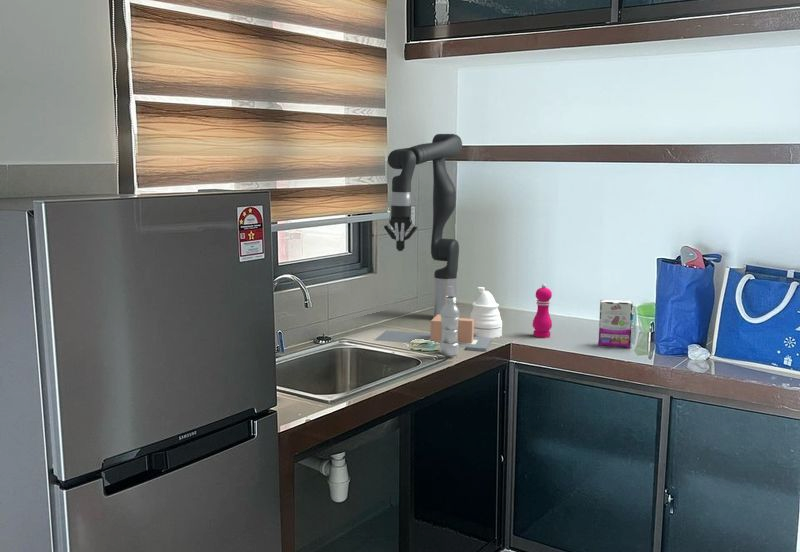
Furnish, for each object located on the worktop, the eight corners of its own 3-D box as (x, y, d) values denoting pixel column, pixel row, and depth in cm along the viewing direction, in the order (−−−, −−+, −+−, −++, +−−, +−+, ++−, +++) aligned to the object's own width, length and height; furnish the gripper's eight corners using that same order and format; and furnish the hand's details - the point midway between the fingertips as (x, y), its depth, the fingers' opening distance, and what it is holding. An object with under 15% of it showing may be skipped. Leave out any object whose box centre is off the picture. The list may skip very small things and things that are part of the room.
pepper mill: (555, 336, 289) (557, 283, 286) (544, 339, 284) (547, 285, 281) (538, 333, 294) (541, 281, 291) (528, 335, 288) (530, 283, 286)
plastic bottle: (446, 359, 251) (447, 299, 248) (435, 354, 257) (437, 296, 254) (462, 357, 254) (464, 298, 251) (452, 352, 260) (453, 294, 257)
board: (386, 332, 289) (386, 330, 289) (492, 340, 280) (492, 337, 280) (374, 342, 273) (374, 340, 273) (486, 351, 263) (486, 348, 263)
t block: (437, 335, 281) (437, 314, 280) (475, 338, 278) (475, 316, 277) (430, 343, 270) (430, 320, 269) (469, 345, 266) (470, 323, 265)
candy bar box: (629, 345, 276) (632, 300, 274) (630, 348, 271) (633, 303, 269) (597, 343, 279) (600, 298, 276) (597, 346, 274) (600, 301, 271)
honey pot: (473, 338, 282) (475, 290, 280) (463, 331, 295) (464, 285, 292) (506, 337, 285) (508, 290, 282) (495, 330, 297) (497, 284, 295)
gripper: (420, 204, 287) (419, 250, 289) (386, 203, 290) (385, 249, 292) (416, 205, 279) (415, 252, 282) (381, 204, 282) (380, 251, 285)
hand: (400, 250), depth 287 cm, fingers closed
